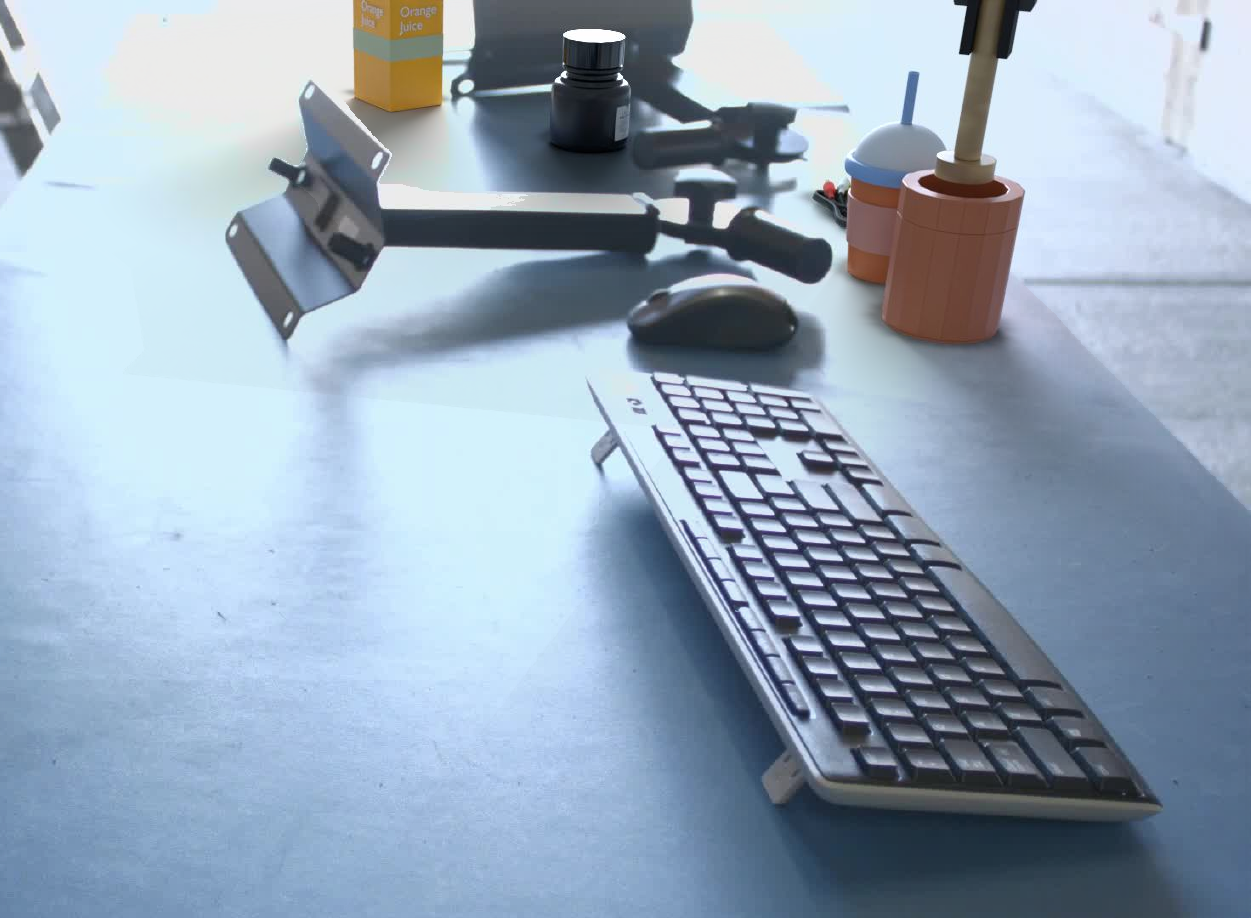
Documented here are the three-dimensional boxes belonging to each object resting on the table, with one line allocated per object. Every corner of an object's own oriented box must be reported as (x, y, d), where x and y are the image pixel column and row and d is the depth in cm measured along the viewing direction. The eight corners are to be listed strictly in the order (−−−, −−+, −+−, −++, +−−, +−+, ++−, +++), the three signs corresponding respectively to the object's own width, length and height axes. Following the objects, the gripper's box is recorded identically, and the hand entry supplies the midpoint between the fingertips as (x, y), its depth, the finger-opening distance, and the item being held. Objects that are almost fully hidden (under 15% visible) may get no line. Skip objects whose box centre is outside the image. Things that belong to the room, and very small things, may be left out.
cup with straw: (815, 261, 137) (841, 60, 129) (912, 259, 138) (944, 59, 130) (850, 298, 129) (881, 86, 121) (953, 295, 130) (990, 84, 122)
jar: (1003, 320, 125) (1031, 178, 120) (987, 358, 118) (1015, 209, 112) (892, 301, 129) (915, 163, 123) (870, 337, 121) (892, 192, 116)
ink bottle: (639, 152, 169) (647, 43, 164) (563, 156, 167) (569, 46, 162) (610, 130, 177) (617, 25, 172) (538, 134, 176) (542, 28, 170)
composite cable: (863, 229, 146) (866, 204, 145) (812, 225, 147) (815, 200, 146) (859, 199, 154) (862, 175, 153) (811, 196, 155) (814, 172, 154)
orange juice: (405, 89, 194) (406, -75, 185) (443, 104, 187) (445, -66, 178) (352, 97, 190) (350, -71, 181) (388, 112, 184) (388, -61, 175)
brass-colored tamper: (997, 173, 119) (1042, -69, 110) (988, 187, 115) (1034, -61, 107) (939, 165, 120) (979, -74, 112) (929, 179, 117) (970, -66, 108)
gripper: (1171, -298, 103) (1097, 54, 113) (943, -302, 109) (893, 33, 119) (1165, -297, 97) (1087, 75, 107) (923, -302, 103) (872, 51, 113)
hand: (985, 52), depth 113 cm, fingers closed on brass-colored tamper, 2 cm apart
